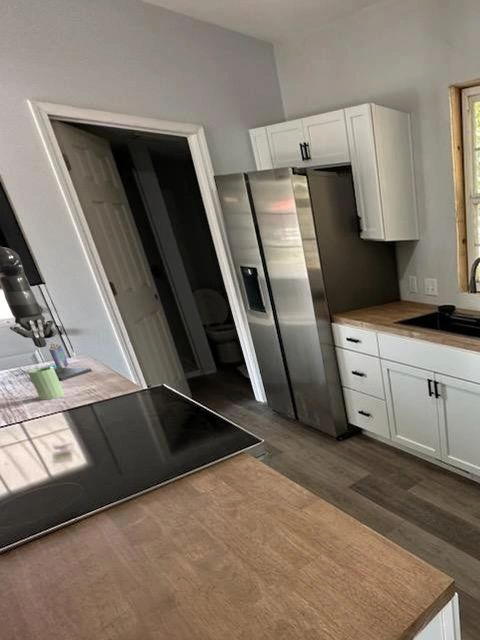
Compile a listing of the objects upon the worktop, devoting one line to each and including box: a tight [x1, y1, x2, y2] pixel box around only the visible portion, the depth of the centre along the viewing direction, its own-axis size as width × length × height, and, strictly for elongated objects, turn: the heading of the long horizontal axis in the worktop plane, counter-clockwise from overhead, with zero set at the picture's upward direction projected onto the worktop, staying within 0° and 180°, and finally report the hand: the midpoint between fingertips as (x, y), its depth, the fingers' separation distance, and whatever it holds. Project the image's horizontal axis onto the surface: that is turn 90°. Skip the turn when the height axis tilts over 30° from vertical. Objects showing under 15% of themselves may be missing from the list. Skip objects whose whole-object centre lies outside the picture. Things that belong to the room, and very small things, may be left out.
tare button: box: [45, 364, 57, 369], centre depth 164 cm, size 3×3×2 cm
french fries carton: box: [48, 342, 69, 368], centre depth 174 cm, size 9×3×11 cm, turn 37°
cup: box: [27, 366, 66, 401], centre depth 143 cm, size 6×6×10 cm
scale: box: [54, 366, 93, 382], centre depth 165 cm, size 13×11×3 cm
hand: (41, 346), depth 161 cm, fingers closed
